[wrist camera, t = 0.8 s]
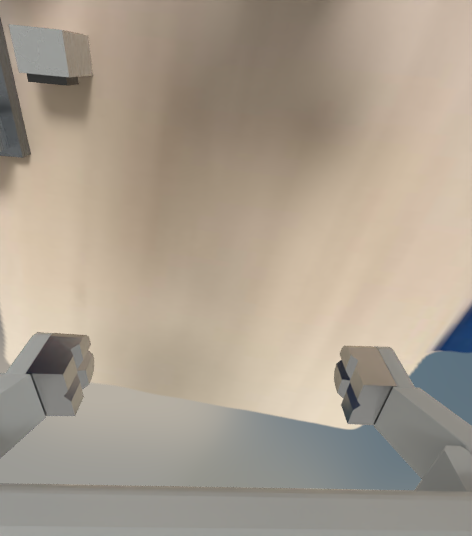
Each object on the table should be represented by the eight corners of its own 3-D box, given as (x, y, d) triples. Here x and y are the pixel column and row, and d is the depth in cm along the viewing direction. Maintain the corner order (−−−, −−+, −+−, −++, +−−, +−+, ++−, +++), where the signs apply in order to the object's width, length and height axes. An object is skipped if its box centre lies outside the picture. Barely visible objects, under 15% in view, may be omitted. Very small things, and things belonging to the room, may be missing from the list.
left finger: (43, 30, 38) (8, 24, 32) (88, 35, 38) (62, 30, 32) (51, 79, 40) (20, 81, 34) (93, 83, 41) (70, 86, 35)
